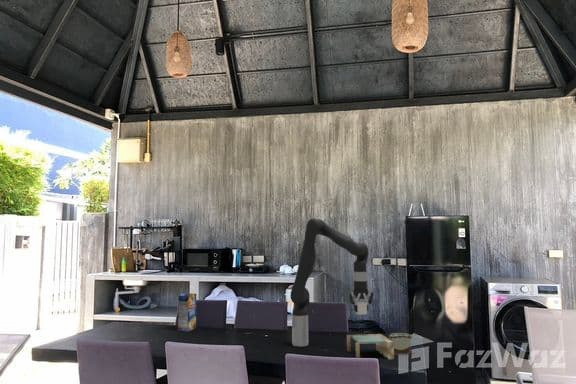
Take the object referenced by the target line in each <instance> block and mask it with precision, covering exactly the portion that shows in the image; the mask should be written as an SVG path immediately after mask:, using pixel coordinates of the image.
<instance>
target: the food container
mask: <svg viewBox="0 0 576 384" xmlns="http://www.w3.org/2000/svg"><path fill="white" fill-rule="evenodd" d="M388 339H390V340H391V341H393V342H394V355H410V354H411V343H412V339H413V337H412V335H411V334H410V333H404V332H393V333H390V334H389V336H388Z"/></svg>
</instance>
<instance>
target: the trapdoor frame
mask: <svg viewBox="0 0 576 384" xmlns="http://www.w3.org/2000/svg"><path fill="white" fill-rule="evenodd" d="M370 335H377V336H379V337H380V338H382V339H383V340H385V343H375V350H376V351H377V352H378V351H379V354H381V355H382V354H383V355H382V356H383V357H384V358H386V357H387V358H388V359H387V358H386V359H387V360H395V354H394V342H393V341H391V339H389V337H387V336H385V335H383V334H381V333H375V334H373V333H372V334H370V333H369V334H346V352H351V350H352V349H351V348H352V346H351V345H352V343H351V339H353V338H352V336H370ZM360 348H361V347H360V344H359V342H357V341H355V359H356V358H360V359H361V354H360V353H361V351H360Z"/></svg>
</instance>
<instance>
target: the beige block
mask: <svg viewBox="0 0 576 384" xmlns="http://www.w3.org/2000/svg"><path fill="white" fill-rule="evenodd" d="M354 312H355V311H354ZM355 314H356V315H357V316H358V315H368V311H367V303H366V302H364V301H358V302H357V312H355Z"/></svg>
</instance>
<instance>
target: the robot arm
mask: <svg viewBox="0 0 576 384" xmlns="http://www.w3.org/2000/svg"><path fill="white" fill-rule="evenodd" d="M317 235H318V236H319V235H320V236H323V237H326V238H328V239H329V240H331V241H332V243H334V244H335V245H337V246H338V247H341V248H343V249H344V250H346V251H347V252H348V253H349V254H350V255H353V256H355V257H356V260H355V261H354V262H353V278H352V279H353V290H352V292H347V296H348V299H349V303H350V304H351V305H353V311H354V312H357V302H359V300H363V302H366V303H367V312H368V311H369V305H370V304H373V303H372V302H373V299H374V292H373V291H369V287H368V284H369V283H368V272H367V271H368V269H367V268H368V267H367V262H368V258H369V246H368V245H367V244H366V243H362V242H361V243H359V242H356V241H354V240H353V239H352V237H350V236H349V235H346V234H344V233H342V232H340V231H338V230H336V229H335V228H333V227H331V226H330V225H329V224H328V223H326V222H325V221H323V220H322V219H320V218H311V219H309V220H308V221H307V223H306V227H305V231H304V238H303V239H304V240H303V243H302V244H303V245H302V248H301V253H300V256H299V260H298V261H299V262H298V266H297V270H296V275H295V278H294V282H293V285H292V288H291V291H290V297H289V298H290V300H291V302H292V303H293V304H295V305H294V308H293V309H292V327H291V345H292V346H293V347H307V346H308V345H309V311H310V291H309V290H308V288H306V285H307V282H308V280H309V278H310V277H311V274H312V272H313V271H314V267H315V264H316V260H317V252H316V247H315V244H316V239H317ZM367 296H368V298H367ZM353 297H354V298H353ZM353 299H354V300H353Z"/></svg>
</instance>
